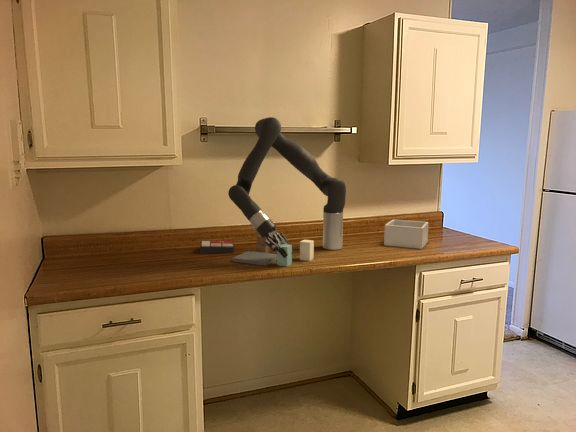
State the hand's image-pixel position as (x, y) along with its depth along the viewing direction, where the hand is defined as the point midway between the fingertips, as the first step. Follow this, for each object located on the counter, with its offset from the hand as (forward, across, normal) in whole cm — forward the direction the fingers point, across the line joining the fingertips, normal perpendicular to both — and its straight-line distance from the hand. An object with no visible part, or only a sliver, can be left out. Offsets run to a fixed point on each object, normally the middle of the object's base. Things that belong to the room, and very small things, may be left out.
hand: (288, 255), depth 192 cm
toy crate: (+29, +62, -23) cm, 72 cm away
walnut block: (-10, +14, +16) cm, 24 cm away
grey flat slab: (-8, +2, +14) cm, 17 cm away
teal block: (+2, 0, +4) cm, 5 cm away
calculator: (-25, +9, +32) cm, 42 cm away
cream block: (+5, +12, +1) cm, 13 cm away
